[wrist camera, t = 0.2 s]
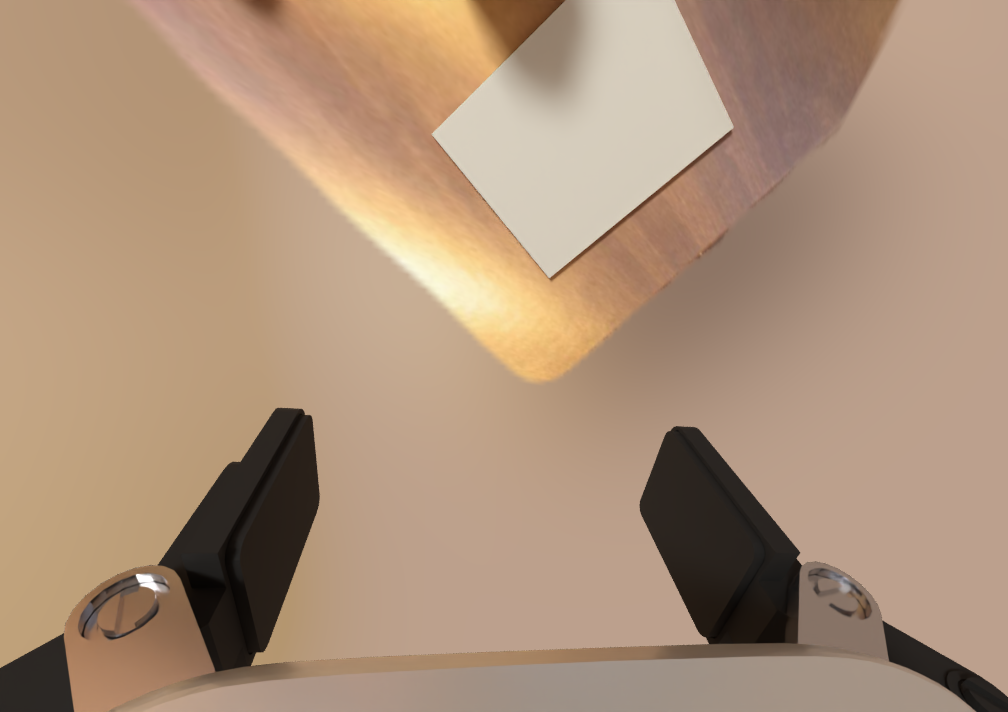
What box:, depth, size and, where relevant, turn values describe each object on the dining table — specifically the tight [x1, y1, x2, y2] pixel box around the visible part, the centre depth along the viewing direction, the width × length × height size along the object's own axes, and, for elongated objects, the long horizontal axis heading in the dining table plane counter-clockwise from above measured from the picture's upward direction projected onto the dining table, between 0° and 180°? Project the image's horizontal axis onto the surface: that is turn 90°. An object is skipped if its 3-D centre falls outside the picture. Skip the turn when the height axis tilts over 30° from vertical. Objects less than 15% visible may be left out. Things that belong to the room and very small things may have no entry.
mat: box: [432, 0, 734, 278], centre depth 35 cm, size 20×16×1 cm
